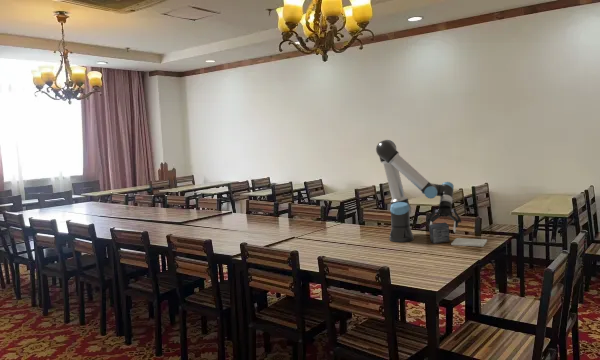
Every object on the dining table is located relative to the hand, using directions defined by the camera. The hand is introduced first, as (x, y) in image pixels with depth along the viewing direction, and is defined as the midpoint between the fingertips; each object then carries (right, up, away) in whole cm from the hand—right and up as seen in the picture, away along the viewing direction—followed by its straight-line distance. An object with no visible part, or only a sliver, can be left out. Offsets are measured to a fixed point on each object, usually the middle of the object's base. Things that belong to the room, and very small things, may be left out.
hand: (442, 231), depth 289 cm
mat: (+14, -6, -6) cm, 17 cm away
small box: (-1, -6, +2) cm, 6 cm away
